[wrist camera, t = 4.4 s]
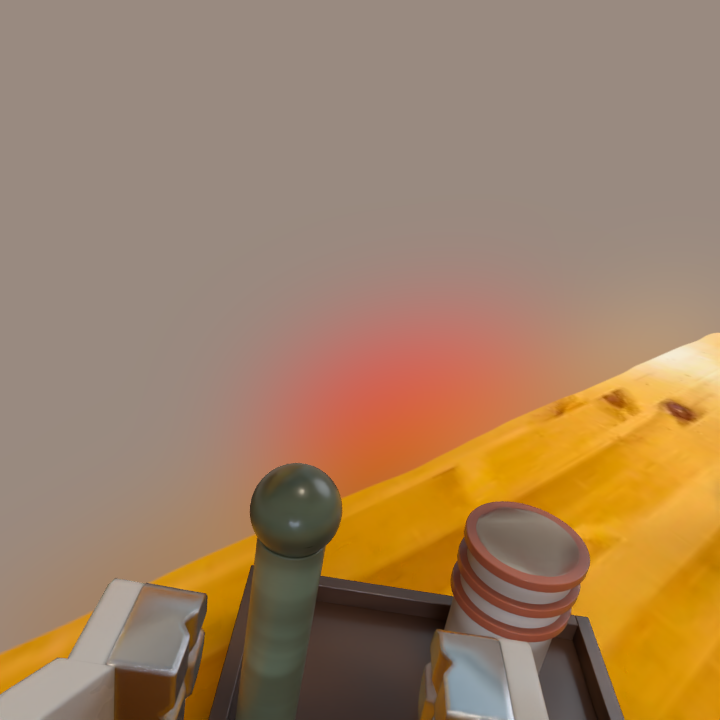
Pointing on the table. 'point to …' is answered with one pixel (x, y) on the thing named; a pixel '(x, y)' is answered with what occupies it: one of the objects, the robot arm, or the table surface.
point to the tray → (399, 614)
